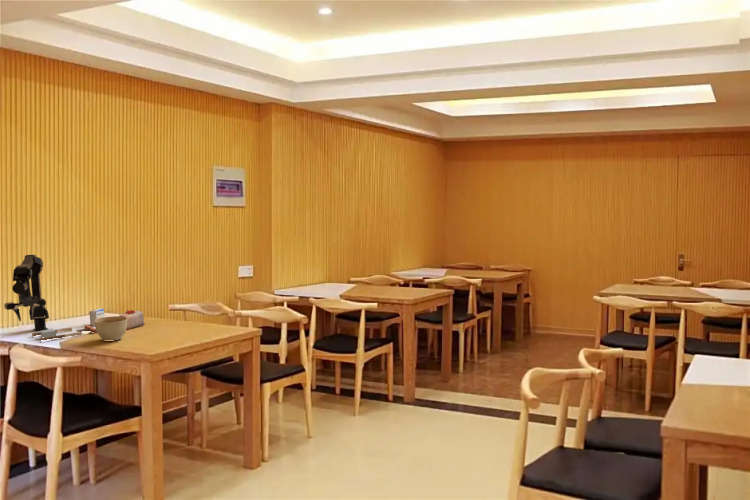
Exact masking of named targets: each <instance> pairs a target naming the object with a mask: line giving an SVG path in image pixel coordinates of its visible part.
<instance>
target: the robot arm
mask: <svg viewBox="0 0 750 500" xmlns="http://www.w3.org/2000/svg"><path fill="white" fill-rule="evenodd" d="M43 267H44V261H43V259H42V258H41V257H38V256H37V255H35V254H26V255H24V259H23V260H22V261H21V263H20V264H18V265H17V266H15V268H14V269H13V274H12V282H15V283H14V284H13V285H12V291H13V293H14V294H17V295H18V296H17V297H18V302H16V303H15V302H13V301H11V302H5V303H4V304H3V306H4V309H5V310H7V311H8V310H11V311H14V314H16V316H17V319H18V322H21V321H22V318H21V313H20V308H19V307H24V308H27V307H29V310H28V311H29V312H28V313H29V314H28V315H29V318H30V319H29V320H30V321H33V324H34V327H33V328H32V330H33V331H35V332H41V331H43V330H49V328H48V327H47V325H46V324H47V323H46V320H47V319H49V318H50V314H49V310H48V309H47V308H46V305H47V301H46V299H44V298H43V297H42V290H41V289H42V287H41V272H42V271H43ZM30 283H31V284H30Z"/></svg>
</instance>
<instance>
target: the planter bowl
mask: <svg viewBox="0 0 750 500" xmlns="http://www.w3.org/2000/svg"><path fill="white" fill-rule="evenodd" d="M127 320H128V318H127V317H121V316H120V315H118V316H116V315H115V316H104V318H99V319H96V320H94V323H95V326H94V328H95V329H96V331H97V333H96V334H98V336H99V337H100V338H101V341H102V340H118V341H120V340H119V339H121V340H123V337H124V334H125V333H126V328H127Z"/></svg>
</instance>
